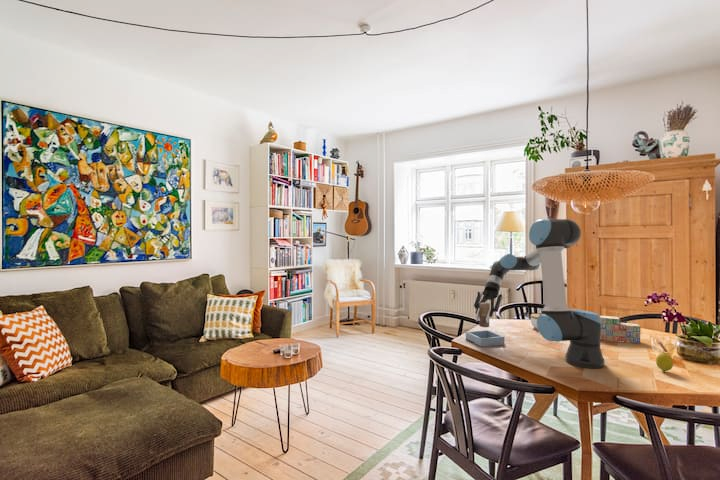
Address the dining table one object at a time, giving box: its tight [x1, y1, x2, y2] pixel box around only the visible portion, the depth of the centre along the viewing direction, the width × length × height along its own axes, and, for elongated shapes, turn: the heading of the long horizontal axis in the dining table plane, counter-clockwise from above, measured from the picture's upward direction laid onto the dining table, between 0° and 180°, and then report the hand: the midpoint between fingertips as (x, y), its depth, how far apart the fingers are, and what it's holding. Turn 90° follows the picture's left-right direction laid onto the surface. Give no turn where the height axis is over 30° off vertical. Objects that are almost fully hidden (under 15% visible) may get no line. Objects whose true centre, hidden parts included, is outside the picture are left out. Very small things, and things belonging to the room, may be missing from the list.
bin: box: [465, 329, 505, 347], centre depth 202 cm, size 14×14×4 cm
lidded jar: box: [529, 312, 542, 330], centre depth 231 cm, size 11×11×9 cm
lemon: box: [655, 352, 674, 372], centre depth 160 cm, size 6×6×8 cm
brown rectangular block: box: [478, 302, 491, 328], centre depth 203 cm, size 5×5×12 cm
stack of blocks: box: [599, 315, 641, 344], centre depth 207 cm, size 21×6×12 cm, turn 66°
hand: (481, 320), depth 200 cm, fingers closed on brown rectangular block, 5 cm apart
